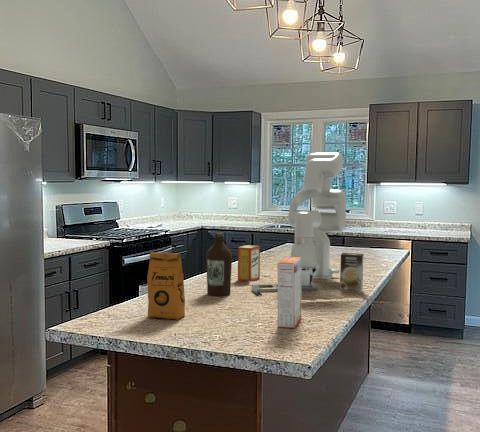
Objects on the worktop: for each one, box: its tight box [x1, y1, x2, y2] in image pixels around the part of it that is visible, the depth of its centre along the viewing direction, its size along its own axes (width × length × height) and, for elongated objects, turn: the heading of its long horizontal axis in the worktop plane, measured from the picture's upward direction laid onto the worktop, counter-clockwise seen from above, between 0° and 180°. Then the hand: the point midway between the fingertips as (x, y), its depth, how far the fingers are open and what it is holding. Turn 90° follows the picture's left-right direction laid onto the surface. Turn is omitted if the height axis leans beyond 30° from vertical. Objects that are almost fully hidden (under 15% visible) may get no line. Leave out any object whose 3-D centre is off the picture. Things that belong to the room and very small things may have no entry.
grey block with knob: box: [301, 268, 310, 287], centre depth 224 cm, size 4×4×8 cm
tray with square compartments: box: [251, 283, 319, 296], centre depth 223 cm, size 26×10×2 cm, turn 101°
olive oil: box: [205, 232, 233, 297], centre depth 217 cm, size 11×11×25 cm
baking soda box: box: [237, 244, 261, 282], centre depth 250 cm, size 10×6×16 cm
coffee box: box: [339, 252, 364, 294], centre depth 224 cm, size 9×6×16 cm
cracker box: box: [276, 256, 302, 329], centre depth 173 cm, size 14×6×21 cm, turn 164°
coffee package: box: [146, 251, 186, 321], centre depth 179 cm, size 10×12×22 cm
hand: (303, 283), depth 224 cm, fingers closed on grey block with knob, 4 cm apart
